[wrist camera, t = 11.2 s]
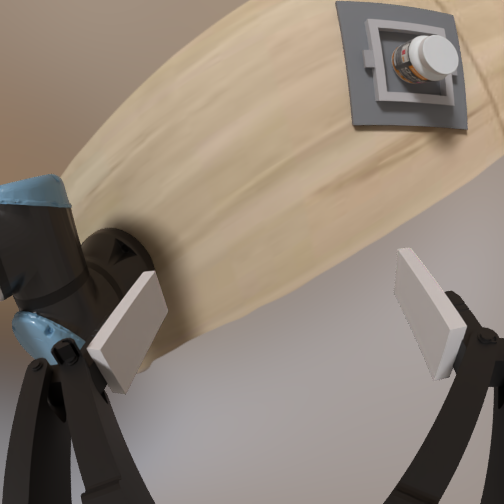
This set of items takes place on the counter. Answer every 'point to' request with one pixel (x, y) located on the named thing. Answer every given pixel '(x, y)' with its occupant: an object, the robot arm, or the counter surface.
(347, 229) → the counter surface
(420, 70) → the pill bottle
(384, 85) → the socket
